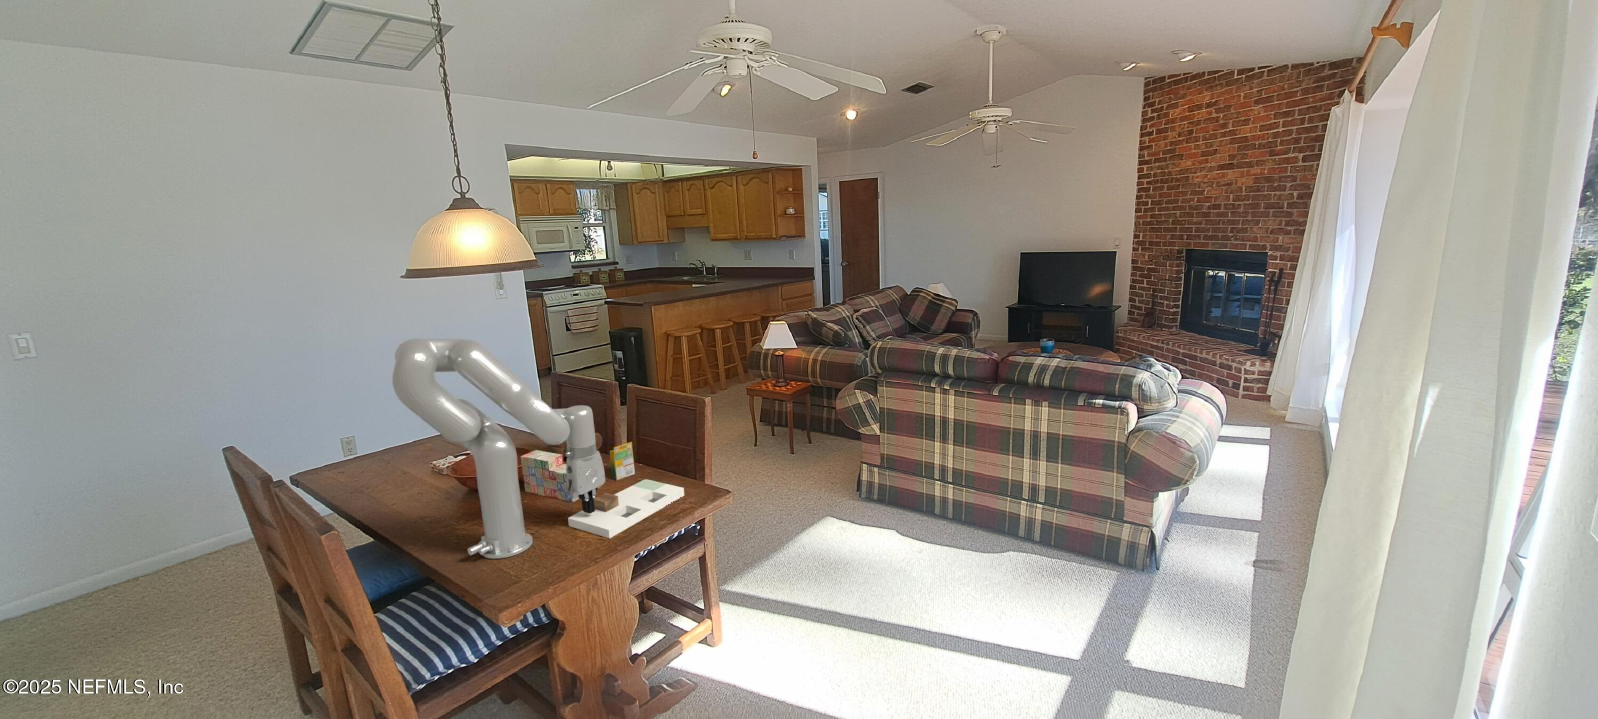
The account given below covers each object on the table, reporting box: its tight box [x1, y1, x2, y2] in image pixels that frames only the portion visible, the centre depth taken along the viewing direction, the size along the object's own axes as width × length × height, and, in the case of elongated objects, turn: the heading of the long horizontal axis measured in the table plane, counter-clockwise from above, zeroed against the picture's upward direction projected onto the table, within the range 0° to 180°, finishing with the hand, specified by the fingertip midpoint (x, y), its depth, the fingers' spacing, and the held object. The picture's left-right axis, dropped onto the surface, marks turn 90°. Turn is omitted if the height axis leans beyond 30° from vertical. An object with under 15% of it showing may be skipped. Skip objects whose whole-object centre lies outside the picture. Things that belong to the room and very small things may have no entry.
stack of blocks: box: [520, 449, 580, 503], centre depth 198 cm, size 21×6×12 cm, turn 63°
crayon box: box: [609, 441, 636, 481], centre depth 211 cm, size 7×3×12 cm, turn 139°
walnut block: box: [594, 492, 619, 512], centre depth 182 cm, size 5×5×3 cm
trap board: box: [567, 478, 685, 539], centre depth 186 cm, size 31×16×2 cm, turn 150°
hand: (589, 511), depth 177 cm, fingers closed
